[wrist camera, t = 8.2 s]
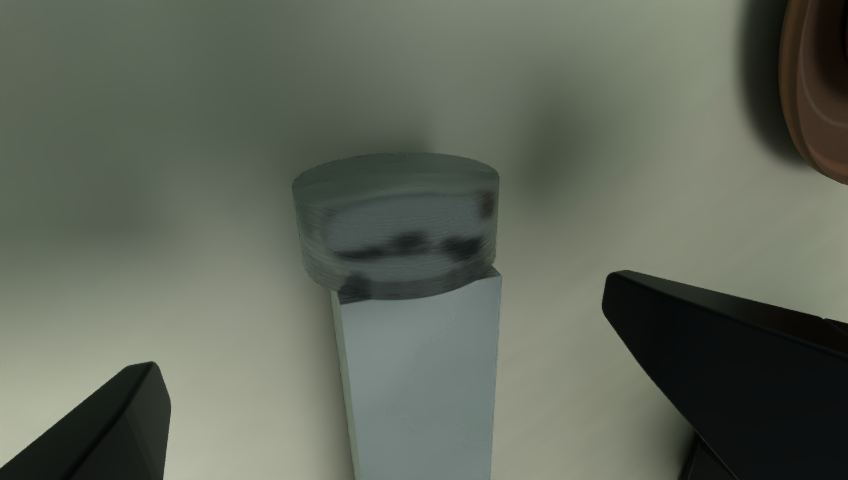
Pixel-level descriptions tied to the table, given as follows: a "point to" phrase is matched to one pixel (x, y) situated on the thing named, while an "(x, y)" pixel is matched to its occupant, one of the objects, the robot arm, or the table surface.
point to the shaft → (409, 306)
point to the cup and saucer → (816, 82)
